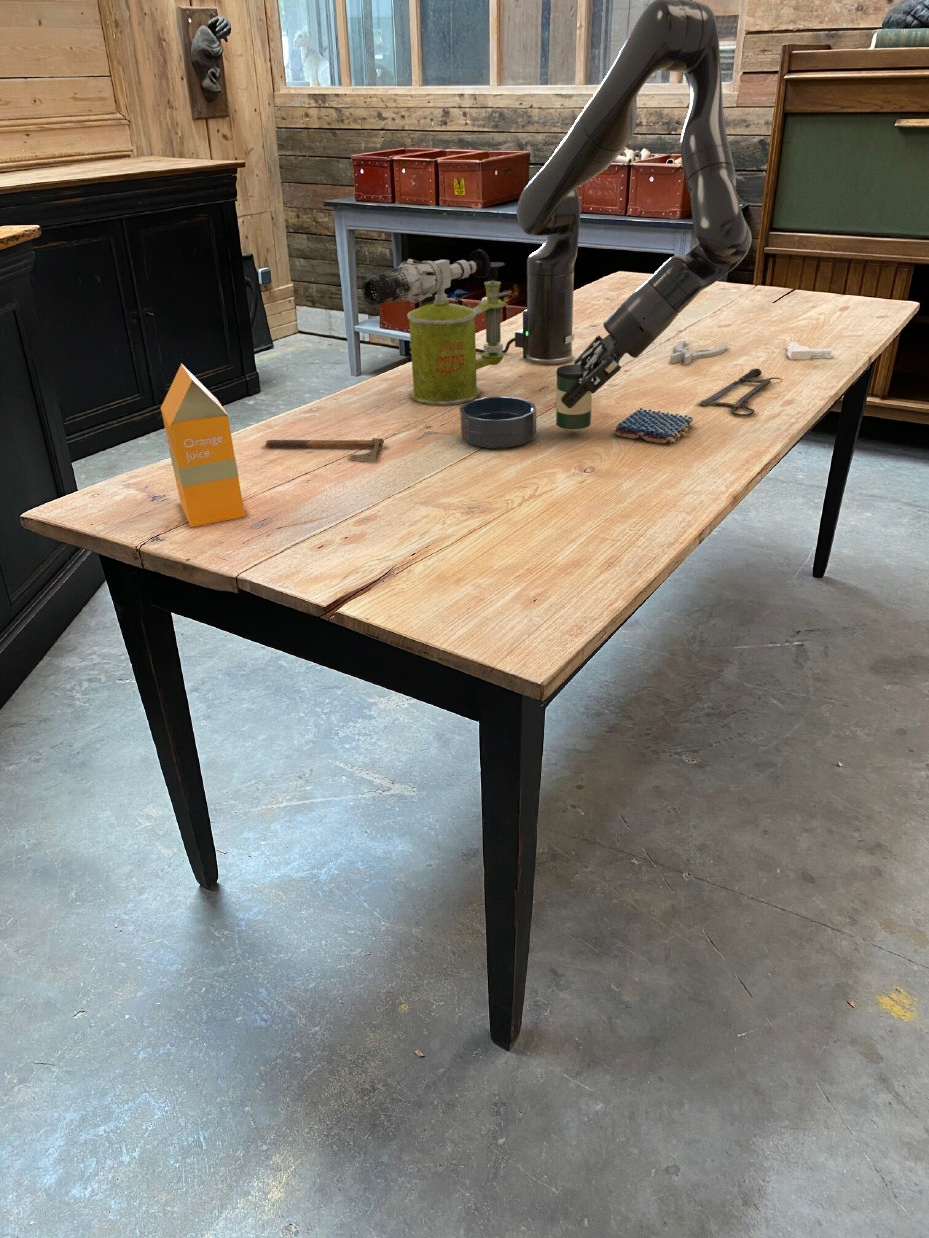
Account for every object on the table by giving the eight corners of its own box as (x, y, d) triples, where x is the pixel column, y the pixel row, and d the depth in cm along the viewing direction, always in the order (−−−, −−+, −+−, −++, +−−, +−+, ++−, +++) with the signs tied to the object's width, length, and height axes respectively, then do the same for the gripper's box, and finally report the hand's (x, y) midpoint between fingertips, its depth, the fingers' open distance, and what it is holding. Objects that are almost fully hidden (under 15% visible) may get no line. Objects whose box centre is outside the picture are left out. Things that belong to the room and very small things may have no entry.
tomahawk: (256, 464, 150) (255, 457, 149) (269, 443, 156) (268, 436, 155) (376, 465, 147) (375, 458, 147) (384, 444, 153) (383, 437, 152)
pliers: (728, 341, 195) (702, 359, 184) (727, 348, 195) (701, 367, 185) (683, 336, 199) (655, 353, 189) (682, 343, 200) (654, 361, 189)
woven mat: (696, 427, 156) (697, 415, 155) (672, 447, 148) (673, 435, 147) (637, 417, 161) (638, 406, 160) (611, 436, 153) (611, 424, 152)
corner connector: (823, 348, 193) (824, 340, 192) (832, 359, 186) (833, 351, 186) (783, 348, 194) (784, 340, 193) (790, 359, 187) (792, 351, 186)
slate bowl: (446, 441, 154) (445, 411, 151) (492, 420, 162) (491, 392, 159) (505, 456, 147) (505, 425, 145) (550, 434, 155) (550, 404, 153)
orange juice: (189, 527, 128) (160, 383, 118) (179, 504, 135) (151, 366, 125) (246, 516, 131) (222, 374, 121) (233, 494, 138) (209, 358, 128)
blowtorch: (528, 379, 182) (528, 242, 169) (406, 424, 161) (395, 273, 149) (478, 368, 189) (474, 236, 177) (356, 410, 169) (342, 264, 156)
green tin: (549, 425, 153) (549, 371, 149) (568, 416, 157) (569, 362, 152) (578, 432, 150) (579, 376, 145) (597, 422, 154) (599, 367, 149)
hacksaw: (752, 374, 180) (753, 366, 179) (804, 382, 174) (806, 374, 173) (692, 407, 164) (693, 399, 163) (748, 418, 158) (749, 410, 158)
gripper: (617, 292, 150) (542, 370, 156) (632, 313, 137) (550, 396, 144) (648, 325, 153) (573, 399, 159) (666, 348, 140) (584, 428, 146)
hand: (563, 397), depth 151 cm, fingers closed on green tin, 5 cm apart
